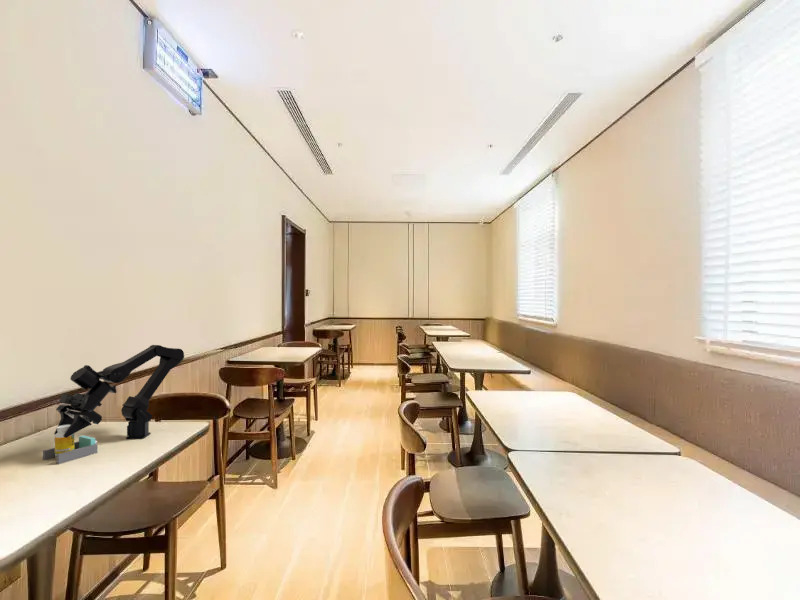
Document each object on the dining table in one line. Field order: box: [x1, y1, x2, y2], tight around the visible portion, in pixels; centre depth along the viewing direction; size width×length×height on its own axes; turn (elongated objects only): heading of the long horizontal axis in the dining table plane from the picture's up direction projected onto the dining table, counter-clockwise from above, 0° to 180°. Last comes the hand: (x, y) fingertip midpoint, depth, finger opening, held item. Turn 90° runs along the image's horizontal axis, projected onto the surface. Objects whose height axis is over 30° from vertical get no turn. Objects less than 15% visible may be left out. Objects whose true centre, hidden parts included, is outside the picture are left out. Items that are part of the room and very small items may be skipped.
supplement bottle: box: [54, 425, 75, 456], centre depth 150 cm, size 5×5×10 cm
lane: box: [42, 435, 98, 465], centre depth 153 cm, size 14×10×5 cm
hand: (59, 435), depth 149 cm, fingers closed on supplement bottle, 5 cm apart
